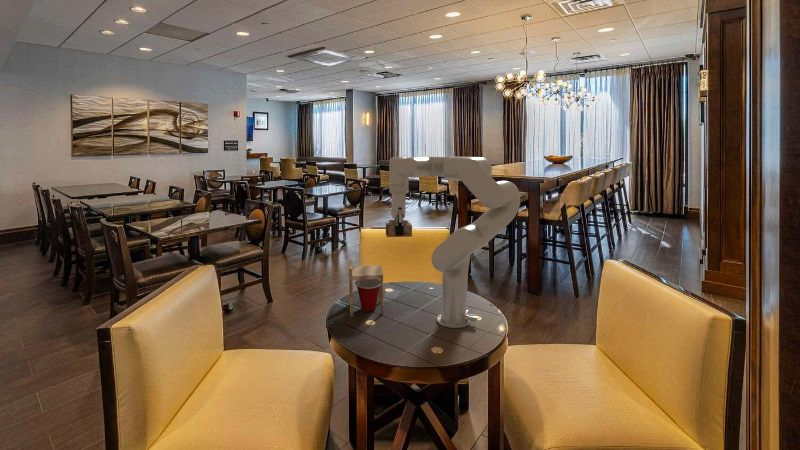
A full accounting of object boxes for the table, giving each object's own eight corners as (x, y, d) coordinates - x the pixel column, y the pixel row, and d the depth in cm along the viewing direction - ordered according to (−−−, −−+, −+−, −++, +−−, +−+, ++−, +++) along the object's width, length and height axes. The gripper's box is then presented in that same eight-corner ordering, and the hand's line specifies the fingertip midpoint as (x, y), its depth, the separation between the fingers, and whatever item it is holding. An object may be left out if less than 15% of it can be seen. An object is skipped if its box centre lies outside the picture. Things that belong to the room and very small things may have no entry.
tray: (410, 233, 175) (410, 219, 173) (411, 236, 169) (412, 221, 168) (385, 233, 174) (385, 219, 172) (386, 237, 168) (386, 222, 167)
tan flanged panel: (381, 302, 183) (380, 258, 179) (383, 314, 170) (383, 267, 166) (350, 304, 181) (348, 259, 177) (350, 316, 168) (348, 268, 165)
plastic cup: (356, 315, 169) (356, 286, 167) (354, 305, 180) (354, 277, 178) (383, 313, 171) (383, 284, 169) (380, 303, 182) (380, 276, 179)
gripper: (387, 186, 176) (387, 229, 179) (391, 191, 159) (391, 238, 162) (405, 186, 176) (405, 229, 180) (411, 191, 159) (410, 238, 163)
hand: (398, 233), depth 171 cm, fingers closed on tray, 6 cm apart
